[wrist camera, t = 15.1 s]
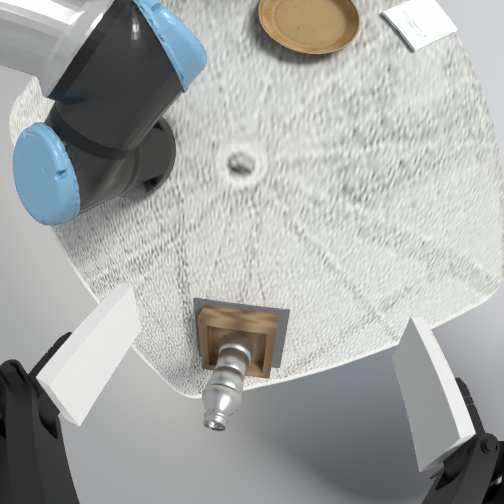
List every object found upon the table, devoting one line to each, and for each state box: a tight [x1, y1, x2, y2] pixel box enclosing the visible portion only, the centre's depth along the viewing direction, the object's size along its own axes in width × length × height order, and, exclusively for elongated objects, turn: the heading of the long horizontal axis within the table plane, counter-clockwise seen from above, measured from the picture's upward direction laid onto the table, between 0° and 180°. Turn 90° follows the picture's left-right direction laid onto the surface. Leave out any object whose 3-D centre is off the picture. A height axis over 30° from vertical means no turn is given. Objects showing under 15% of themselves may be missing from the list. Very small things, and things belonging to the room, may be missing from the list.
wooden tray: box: [198, 305, 278, 378], centre depth 51 cm, size 14×14×4 cm
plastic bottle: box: [202, 333, 253, 432], centre depth 43 cm, size 6×7×20 cm
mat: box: [194, 298, 290, 368], centre depth 53 cm, size 18×16×1 cm
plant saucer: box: [258, 0, 360, 54], centre depth 27 cm, size 15×15×3 cm
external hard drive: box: [382, 0, 457, 52], centre depth 24 cm, size 2×8×12 cm
